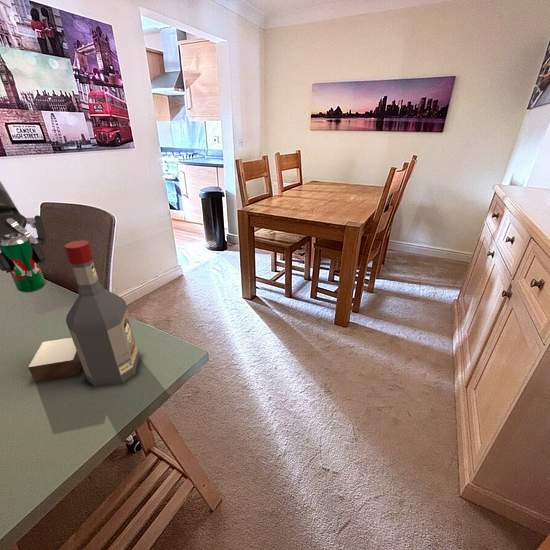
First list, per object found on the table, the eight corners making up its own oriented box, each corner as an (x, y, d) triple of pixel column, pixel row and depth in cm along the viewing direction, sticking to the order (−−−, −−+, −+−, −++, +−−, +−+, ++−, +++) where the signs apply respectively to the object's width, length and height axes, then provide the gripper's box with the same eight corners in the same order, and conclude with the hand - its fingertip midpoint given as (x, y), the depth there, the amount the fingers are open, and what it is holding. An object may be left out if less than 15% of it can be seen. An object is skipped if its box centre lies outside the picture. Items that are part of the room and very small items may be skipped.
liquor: (85, 390, 61) (33, 256, 47) (99, 359, 69) (58, 236, 55) (133, 384, 63) (96, 252, 49) (141, 354, 71) (112, 233, 57)
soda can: (39, 280, 69) (20, 230, 63) (51, 286, 67) (32, 235, 61) (13, 289, 65) (-10, 237, 59) (25, 296, 63) (2, 242, 57)
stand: (36, 385, 62) (27, 367, 60) (50, 358, 69) (42, 341, 67) (79, 377, 64) (73, 360, 62) (89, 352, 71) (83, 335, 69)
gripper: (-67, 192, 55) (-22, 270, 54) (27, 182, 65) (66, 247, 64) (-58, 215, 61) (-17, 286, 60) (27, 202, 71) (63, 263, 70)
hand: (25, 265), depth 62 cm, fingers closed on soda can, 5 cm apart
